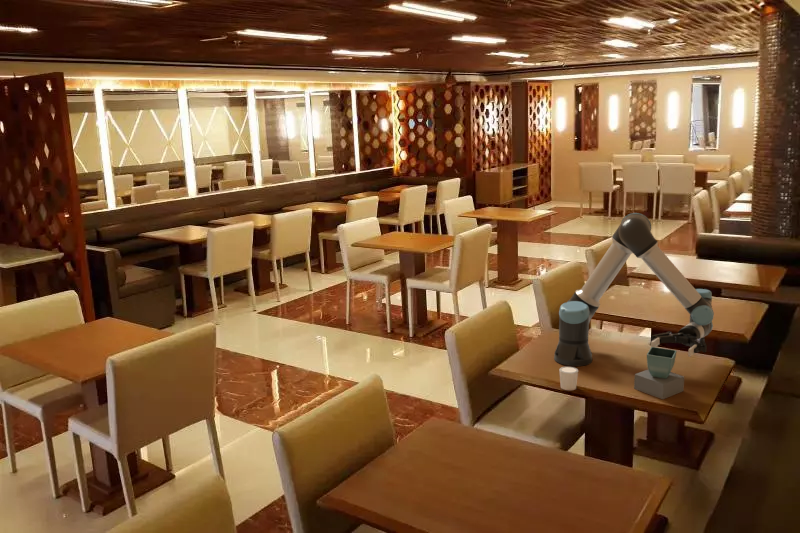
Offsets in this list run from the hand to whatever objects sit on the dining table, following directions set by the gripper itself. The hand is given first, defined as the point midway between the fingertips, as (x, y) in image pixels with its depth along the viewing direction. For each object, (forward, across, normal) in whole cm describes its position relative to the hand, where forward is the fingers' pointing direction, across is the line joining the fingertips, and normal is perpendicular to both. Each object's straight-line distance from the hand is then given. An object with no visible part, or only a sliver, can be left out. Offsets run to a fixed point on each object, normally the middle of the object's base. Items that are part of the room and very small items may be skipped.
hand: (670, 349), depth 245 cm
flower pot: (+8, 0, -8) cm, 11 cm away
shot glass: (+25, +27, -14) cm, 40 cm away
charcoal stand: (+7, +1, -14) cm, 16 cm away
